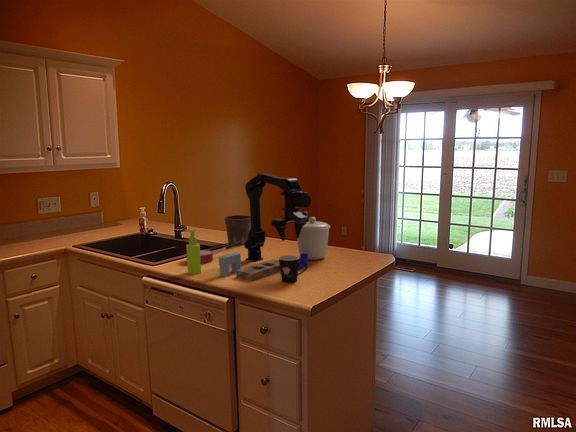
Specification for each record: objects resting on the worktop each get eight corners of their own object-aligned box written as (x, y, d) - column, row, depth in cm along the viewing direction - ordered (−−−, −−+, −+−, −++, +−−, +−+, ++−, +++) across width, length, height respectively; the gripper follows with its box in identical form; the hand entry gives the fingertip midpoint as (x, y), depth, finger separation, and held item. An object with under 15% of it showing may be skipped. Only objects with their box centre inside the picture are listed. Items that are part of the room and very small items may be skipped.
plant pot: (258, 243, 259) (257, 216, 256) (236, 248, 248) (235, 220, 245) (241, 239, 271) (240, 214, 268) (219, 243, 260) (218, 217, 257)
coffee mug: (275, 281, 184) (274, 258, 182) (289, 276, 190) (289, 254, 188) (294, 287, 176) (294, 262, 174) (309, 282, 182) (308, 258, 180)
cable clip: (294, 272, 197) (294, 259, 196) (287, 271, 200) (286, 258, 199) (310, 266, 206) (310, 254, 205) (303, 265, 209) (302, 253, 208)
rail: (236, 276, 191) (236, 270, 191) (272, 265, 209) (272, 259, 209) (252, 280, 185) (252, 274, 184) (288, 268, 203) (288, 262, 203)
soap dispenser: (184, 271, 200) (182, 229, 197) (199, 270, 203) (197, 228, 200) (186, 275, 195) (184, 231, 192) (202, 273, 197) (199, 230, 194)
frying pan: (229, 250, 243) (228, 239, 242) (245, 253, 235) (245, 241, 234) (181, 261, 219) (180, 249, 218) (197, 265, 211) (197, 253, 210)
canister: (325, 263, 211) (325, 220, 208) (290, 260, 217) (289, 219, 214) (334, 254, 228) (334, 214, 225) (301, 252, 234) (300, 213, 231)
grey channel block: (219, 275, 194) (218, 257, 192) (235, 270, 201) (235, 252, 200) (224, 276, 191) (224, 258, 190) (241, 271, 199) (240, 253, 198)
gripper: (287, 209, 186) (288, 245, 188) (317, 205, 199) (317, 238, 201) (270, 207, 194) (271, 241, 196) (299, 203, 207) (300, 235, 209)
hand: (290, 239), depth 201 cm, fingers open, 9 cm apart
